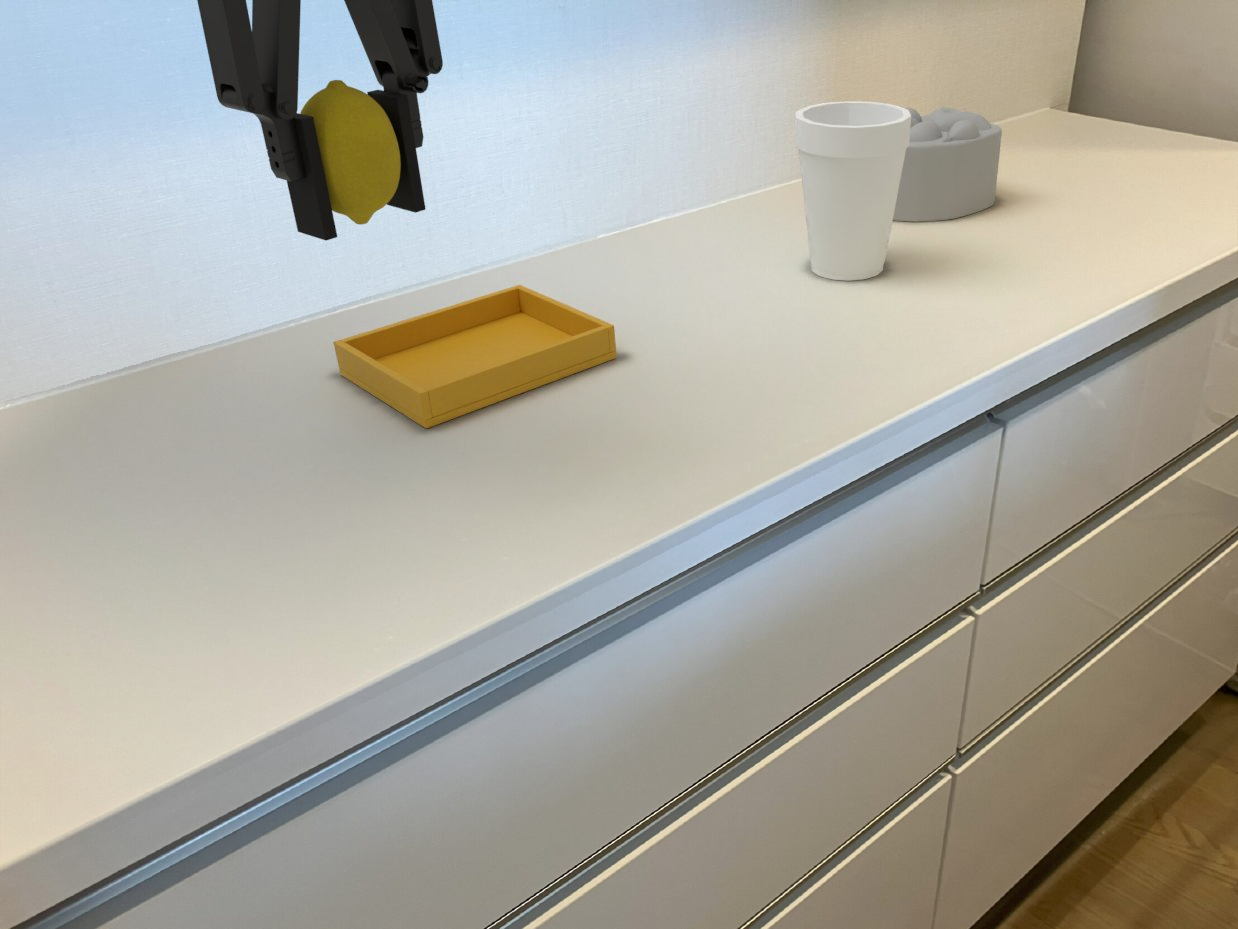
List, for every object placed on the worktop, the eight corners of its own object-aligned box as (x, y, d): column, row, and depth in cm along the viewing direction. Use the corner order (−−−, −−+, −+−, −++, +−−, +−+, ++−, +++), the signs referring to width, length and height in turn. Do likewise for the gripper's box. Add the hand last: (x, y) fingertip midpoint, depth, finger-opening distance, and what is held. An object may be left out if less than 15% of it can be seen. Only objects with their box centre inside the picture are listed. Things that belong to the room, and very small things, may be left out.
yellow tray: (426, 429, 76) (419, 393, 75) (340, 374, 84) (332, 341, 83) (616, 358, 85) (614, 325, 84) (523, 315, 93) (519, 284, 92)
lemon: (367, 205, 70) (342, 66, 66) (430, 220, 67) (408, 76, 63) (292, 228, 66) (261, 83, 62) (355, 246, 64) (326, 95, 59)
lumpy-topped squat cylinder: (1008, 201, 116) (1018, 112, 111) (920, 229, 109) (927, 135, 104) (930, 181, 122) (937, 96, 118) (843, 206, 116) (847, 117, 111)
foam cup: (808, 291, 96) (811, 131, 89) (781, 255, 104) (782, 105, 97) (916, 280, 97) (927, 122, 90) (881, 246, 105) (890, 98, 98)
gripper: (122, -275, 46) (258, 279, 59) (474, -265, 58) (524, 193, 71) (36, -266, 50) (181, 251, 63) (382, -258, 62) (445, 174, 75)
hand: (363, 219), depth 67 cm, fingers closed on lemon, 5 cm apart
